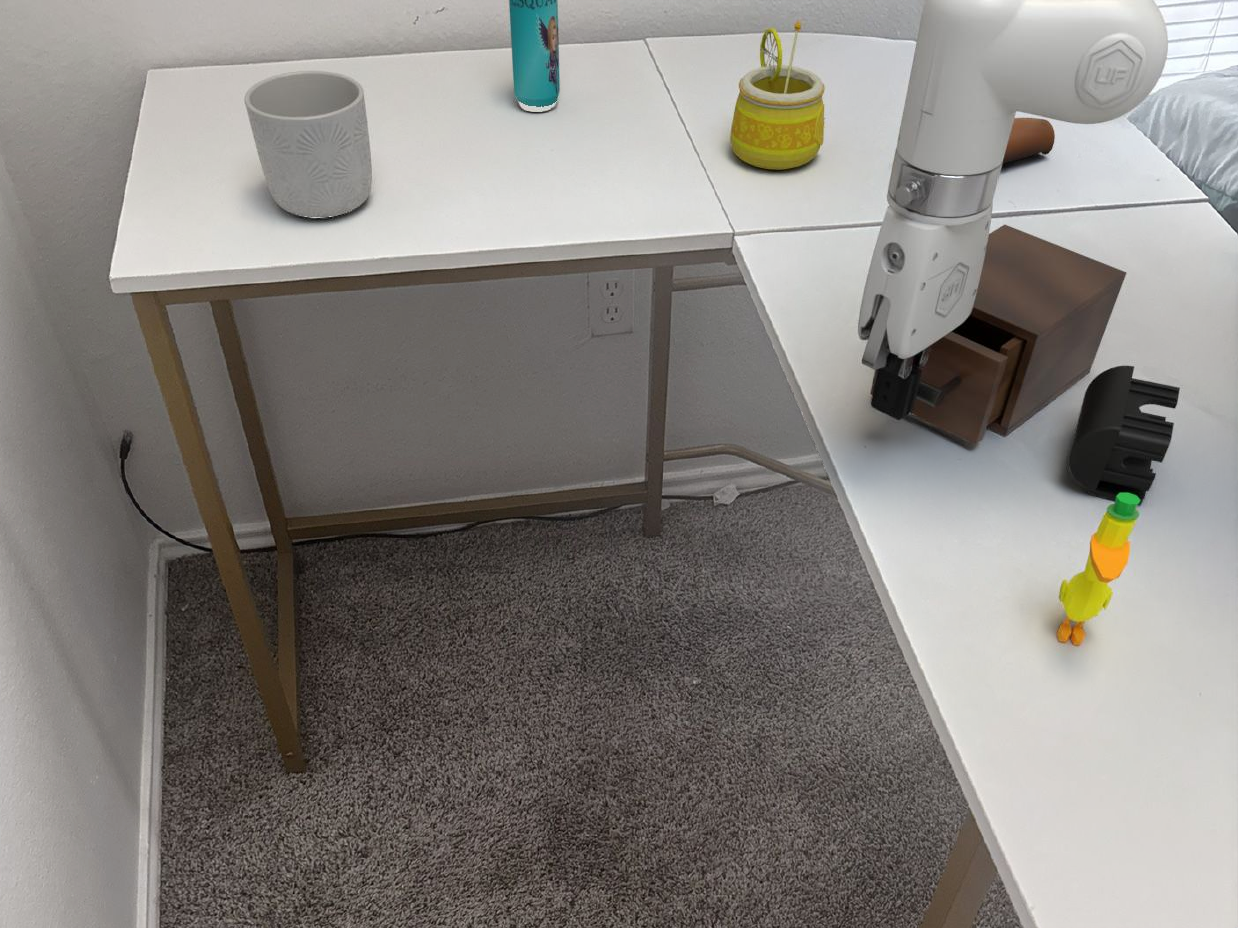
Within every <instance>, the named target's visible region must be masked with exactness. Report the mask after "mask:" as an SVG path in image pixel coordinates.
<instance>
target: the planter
mask: <svg viewBox="0 0 1238 928" xmlns="http://www.w3.org/2000/svg"><path fill="white" fill-rule="evenodd" d="M244 105H245V109H246V112H247V116H248V120H249V125H250V128H251V133H252V137H253V140H254V145H255V148H256V152H257V156H258V159H259V164H260V166H261V167H260V168H261V169H262V170H261V171H262V174H263V178H264V179H265V182H266V185H267V188H268V190H269V192H270V194H271V197H272V198H273V200H274V201H275V203H276V204H277V205H278V206H279V207H280V208H281V209H282V210H285V211H286V212H288V213H289V212H291V213H290V214H292V213H293V214H292V215H294V214H296V215H295V216H297V215H301V216H307V217H329V216H336V215H340V214H343V213H346V212H349V211H351V210H353V209H355V208H357V207H358V206H359V207H361V206H362V205H363V204H364V203H365V201H366V200H367V199H368V197H369V195H370V193H371V189H372V182H373V167H372V152H371V143H370V134H369V125H368V118H367V117H368V115H367V109H366V101H365V91H364V88H363V87H362V85H361V84H360V83H359V82H358V81H357V80H355V79H354V78H353V77H350V76H348V75H345V74H341V73H337V72H332V71H326V70H301V71H300V70H298V71H290V72H285V73H280V74H276V75H273V76H270V77H267V78H265V79H263V80H260V81H258V82H257V83H254V85H252V86H251V87H249V89H248V90H247V91H246V93H245V95H244ZM362 203H363V204H362ZM361 204H362V205H361ZM360 205H361V206H360ZM359 207H358V208H359ZM358 208H357V209H358ZM355 210H356V209H355ZM353 211H354V210H353ZM351 212H352V211H351ZM349 213H350V212H349Z"/></svg>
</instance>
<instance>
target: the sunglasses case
mask: <svg viewBox="0 0 1238 928" xmlns="http://www.w3.org/2000/svg"><path fill="white" fill-rule="evenodd" d="M1055 136H1056V134H1055V129H1054V126H1053V124H1051V122H1050V121H1049V120H1048V119H1044V118H1036V117H1015V118H1014V121H1013V125H1012V129H1011V133H1010V136H1009V140H1008V144H1007V147H1006V151H1005V155H1004V158H1003V163H1002V165H1003V164H1006V163H1008V162H1011V161H1012V162H1013V161H1017V160H1021V159H1024V158H1028V157H1031V156H1035V155H1039V154H1042V155H1048V154H1049V153H1050V152H1051V151H1052V150H1053V148H1054V145H1055V138H1056V137H1055Z"/></svg>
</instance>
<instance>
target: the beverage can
mask: <svg viewBox="0 0 1238 928" xmlns="http://www.w3.org/2000/svg"><path fill="white" fill-rule="evenodd" d="M508 5H509V8H508V9H509V21H510V22H509V24H510V44H511V45H510V46H511V60H512V61H511V62H512V80H513V93H514V95H515V99H516V101H517V100H518V101H519V102H521V103H523V104H525V105H528V106H536V107H541V106H542V107H544V106H549V105H552V104H553V103H555V102H556V101H557V102H558V98H559V95H560V92H561V87H560V86H561V84H560V83H561V81H560V44H559V5H558V0H508ZM518 101H517V102H518ZM557 102H556V103H557Z"/></svg>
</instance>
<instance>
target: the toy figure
mask: <svg viewBox="0 0 1238 928" xmlns="http://www.w3.org/2000/svg"><path fill="white" fill-rule="evenodd" d="M1140 501H1141V500H1140V499H1139V498H1138V497H1137V496H1136V495H1134V494H1131V493H1128V492H1127V493H1119V494H1118V495H1117V496H1116V500H1115V501H1114V503H1111V504H1109V505H1107V507H1106V511H1105V512H1104V514H1103V516H1102V518H1101V521H1100V523H1099V526H1098V528H1097V530H1096V532H1094V533H1093V534H1092V535H1091V537H1090V541H1089V553H1088V556H1087V561H1086V564H1085V568H1084V570H1083V571H1081V572H1079V573H1077V574H1074V575H1073V577H1072V578H1071V579H1070V580H1069V582H1068V580H1067V579H1063V580H1062V581H1061V584H1060V587H1059V594H1058V600H1059V602H1060V603H1061V604H1062V607H1063V609H1064V612H1065V614H1066V616H1065V619H1064V621H1063V622H1061V623H1060V626H1059V628H1058V630H1057V632H1056V633H1057V634H1056V637H1057V640H1058V642H1059V643H1067V641H1069V639H1070V641H1071V643H1072V645H1074V646H1081V645H1082V643H1083V641H1084V639H1085V636H1086V631H1085V629H1084V628H1083V626H1084V624H1085V622H1086V621H1089V620H1090V619H1093V618H1095V617H1097V616H1098V615H1099V614H1100V612H1101V611H1102V610H1104V611H1105V610H1106V609H1107V608H1108V606H1109V603H1110V601H1111V599H1112V596H1113V594H1114V593H1113V591H1112V588H1111V587H1110V586H1109V583H1111V582H1113V581H1114V580H1116V579H1118V578H1120V576H1121V574H1122V573H1123V572H1124V570H1125V568H1126V566H1127V565H1128V562H1129V557H1130V553H1131V542H1130V541H1129V537H1130V535H1131V533H1132V531H1133V529H1134V527H1135V525H1136V523H1137V520H1138V518H1139V516H1140V512H1139V510H1138V509H1136V508H1137V507H1138V506H1139V505H1138V504H1139V502H1140ZM1071 621H1074V622H1076V623H1077V624H1074V625H1072V626H1073V627H1071V624H1070V623H1071Z"/></svg>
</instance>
